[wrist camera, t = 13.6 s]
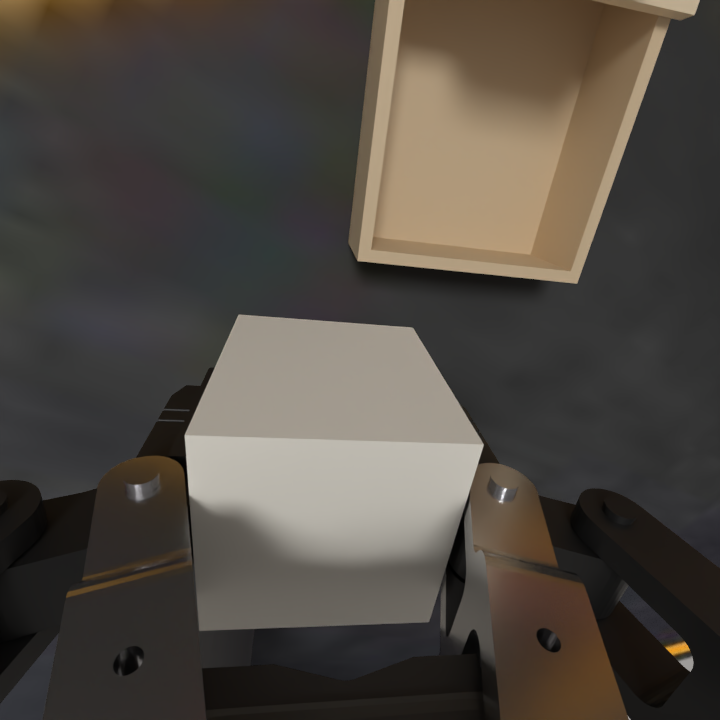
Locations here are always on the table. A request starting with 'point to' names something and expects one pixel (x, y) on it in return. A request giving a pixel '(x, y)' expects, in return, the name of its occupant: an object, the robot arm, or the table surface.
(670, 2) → the lid
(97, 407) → the table surface
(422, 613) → the block
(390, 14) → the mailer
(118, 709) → the robot arm
